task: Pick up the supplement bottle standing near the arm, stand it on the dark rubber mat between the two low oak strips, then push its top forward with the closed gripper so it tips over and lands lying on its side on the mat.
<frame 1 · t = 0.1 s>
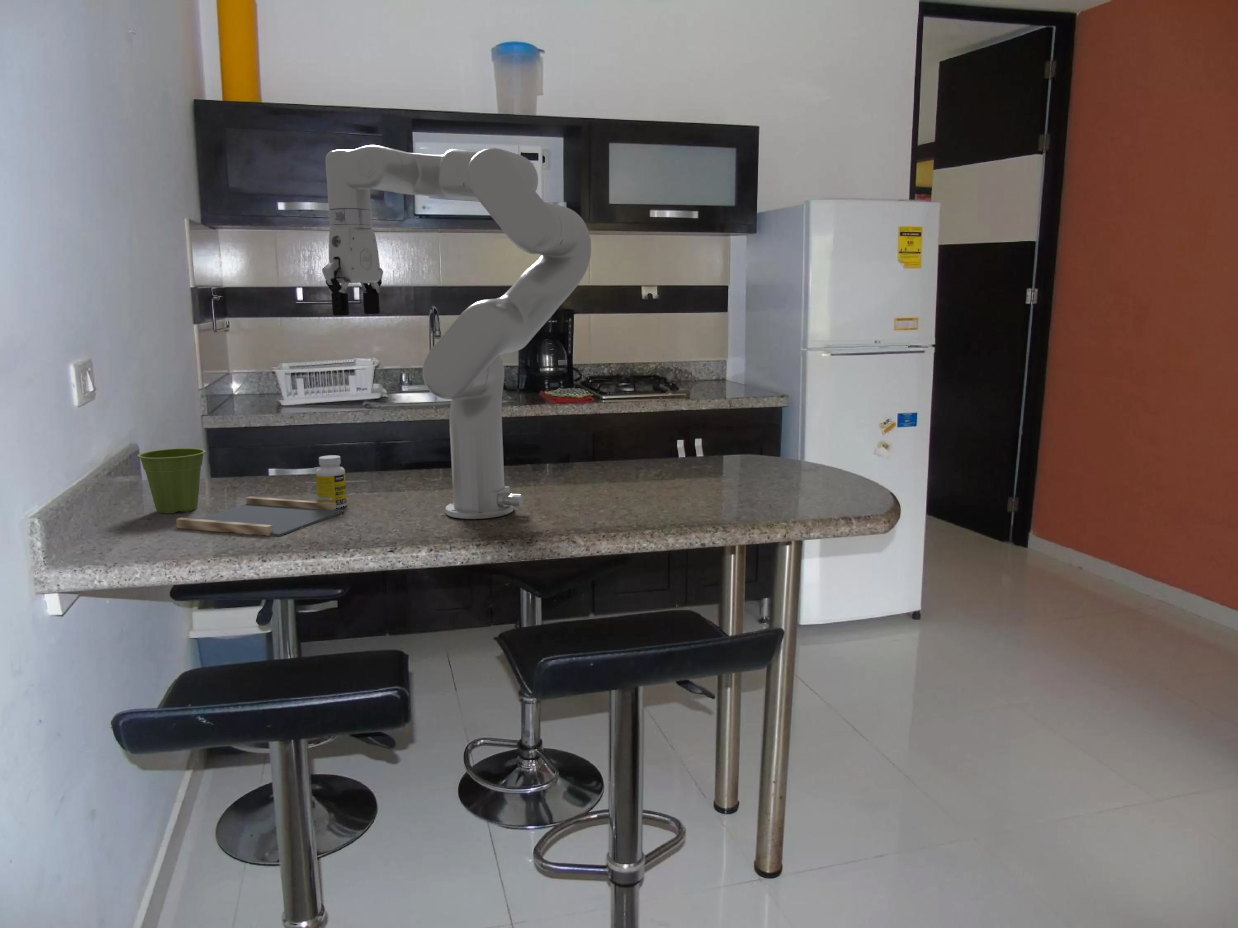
hand: (356, 314, 173), 37 cm above the table, tool pointing down, fingers open, 9 cm apart
supplement bottle: (333, 507, 179), on the table
strip right: (290, 508, 178), on the table
plant pot: (178, 510, 178), on the table
mat: (263, 519, 169), on the table
strip left: (224, 530, 161), on the table
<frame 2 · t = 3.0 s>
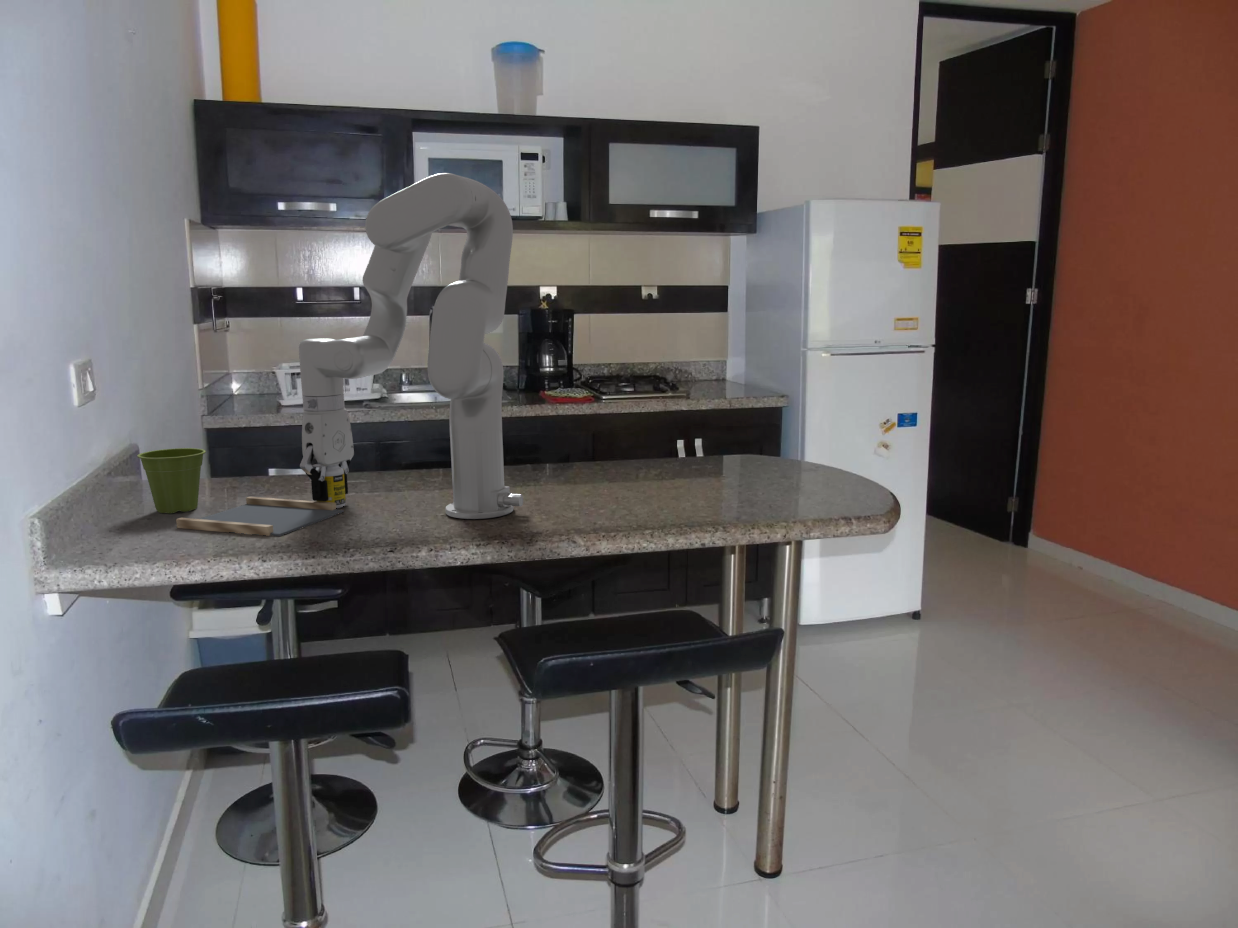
hand: (330, 496, 178), 2 cm above the table, tool pointing down, fingers closed on supplement bottle, 5 cm apart
supplement bottle: (331, 507, 178), on the table, touching gripper, strip right
everything else where it was.
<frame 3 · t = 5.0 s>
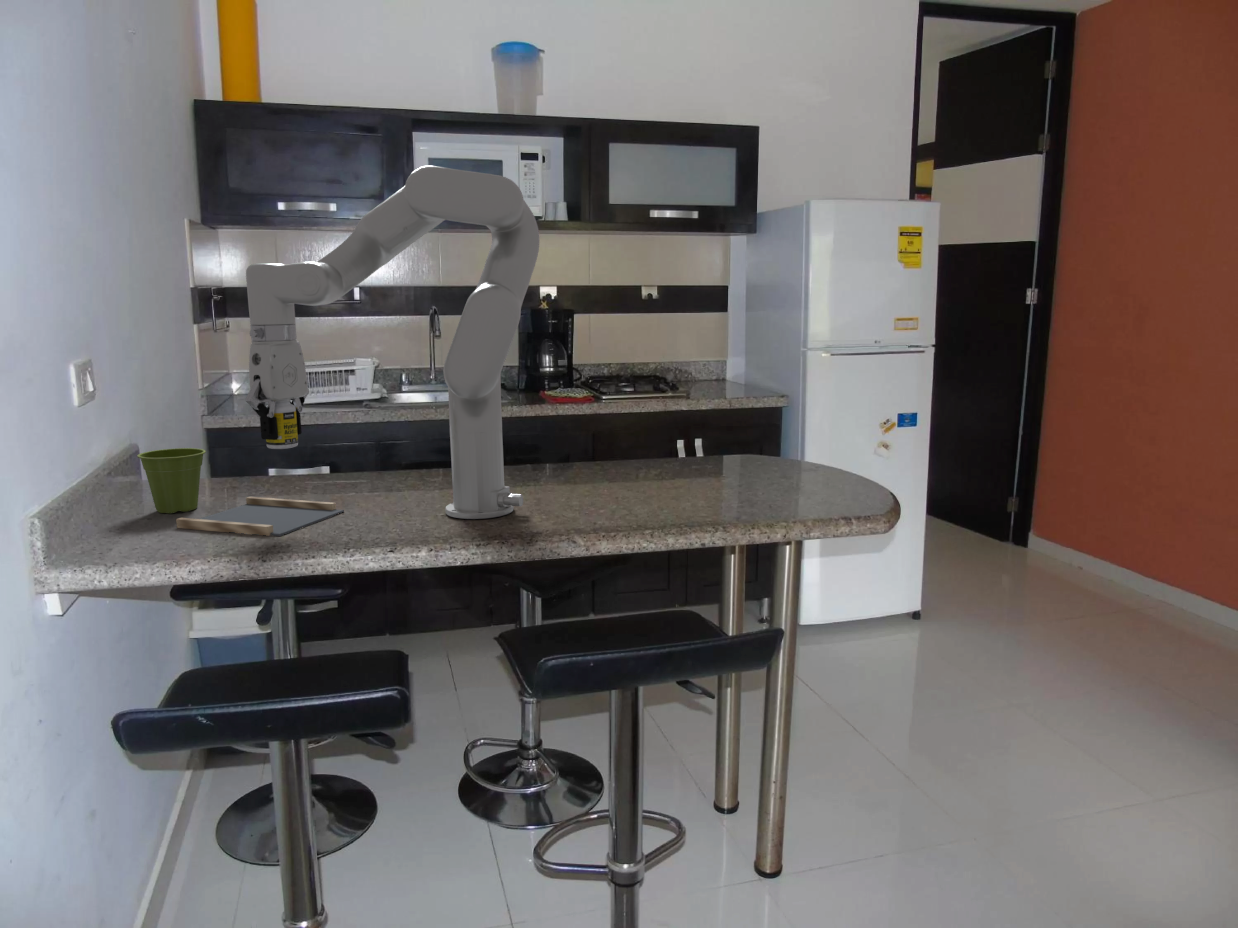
hand: (281, 435, 165), 16 cm above the table, tool pointing down, fingers closed on supplement bottle, 5 cm apart
supplement bottle: (283, 448, 166), point 13 cm above the table, touching gripper
everything else where it was.
when the fingers open (3 cm above the table, at t = 6.9 s): supplement bottle stays where it is, resting on mat.
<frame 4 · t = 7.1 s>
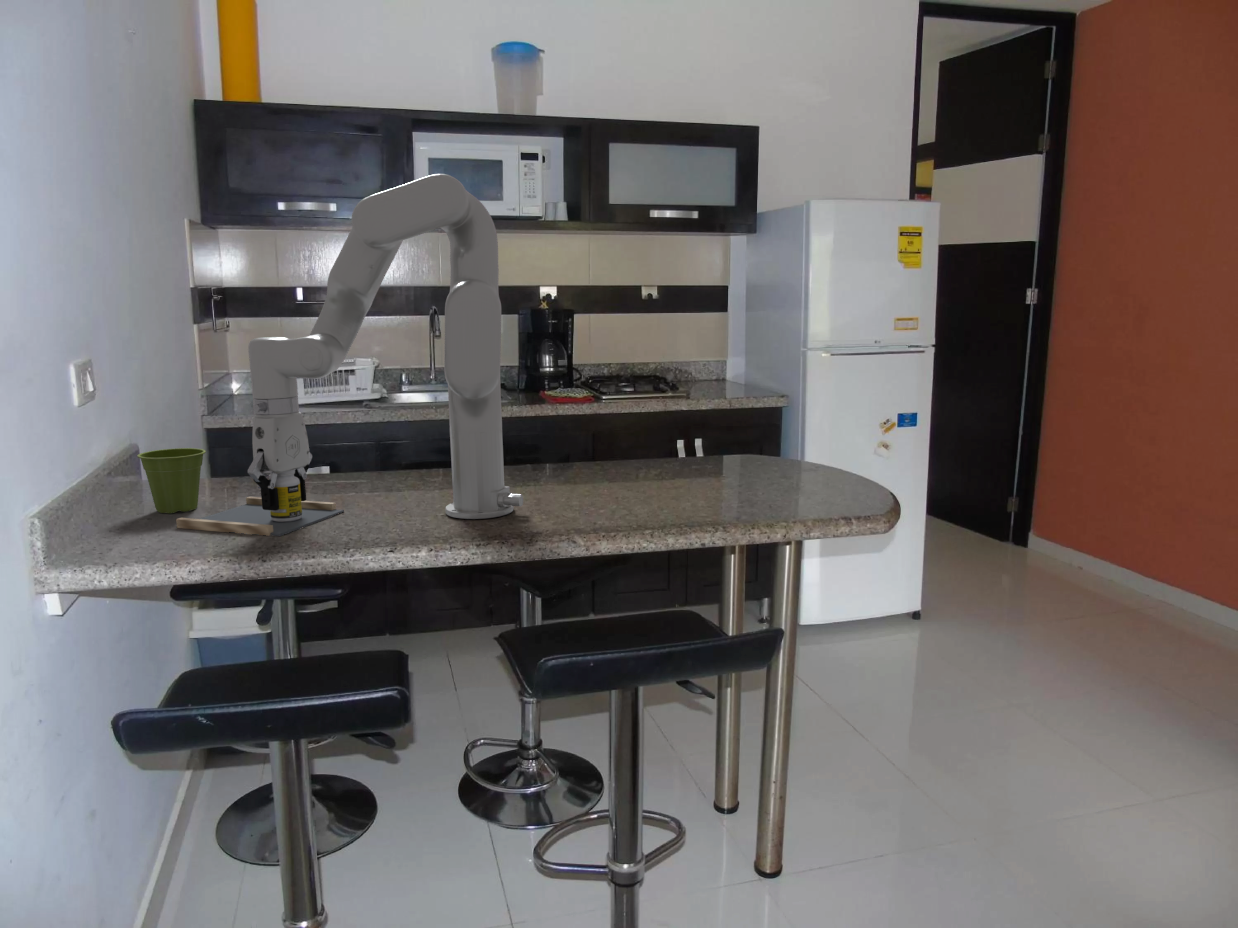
hand: (284, 504, 167), 3 cm above the table, tool pointing down, fingers open, 6 cm apart
supplement bottle: (287, 520, 168), resting on mat
everything else where it was.
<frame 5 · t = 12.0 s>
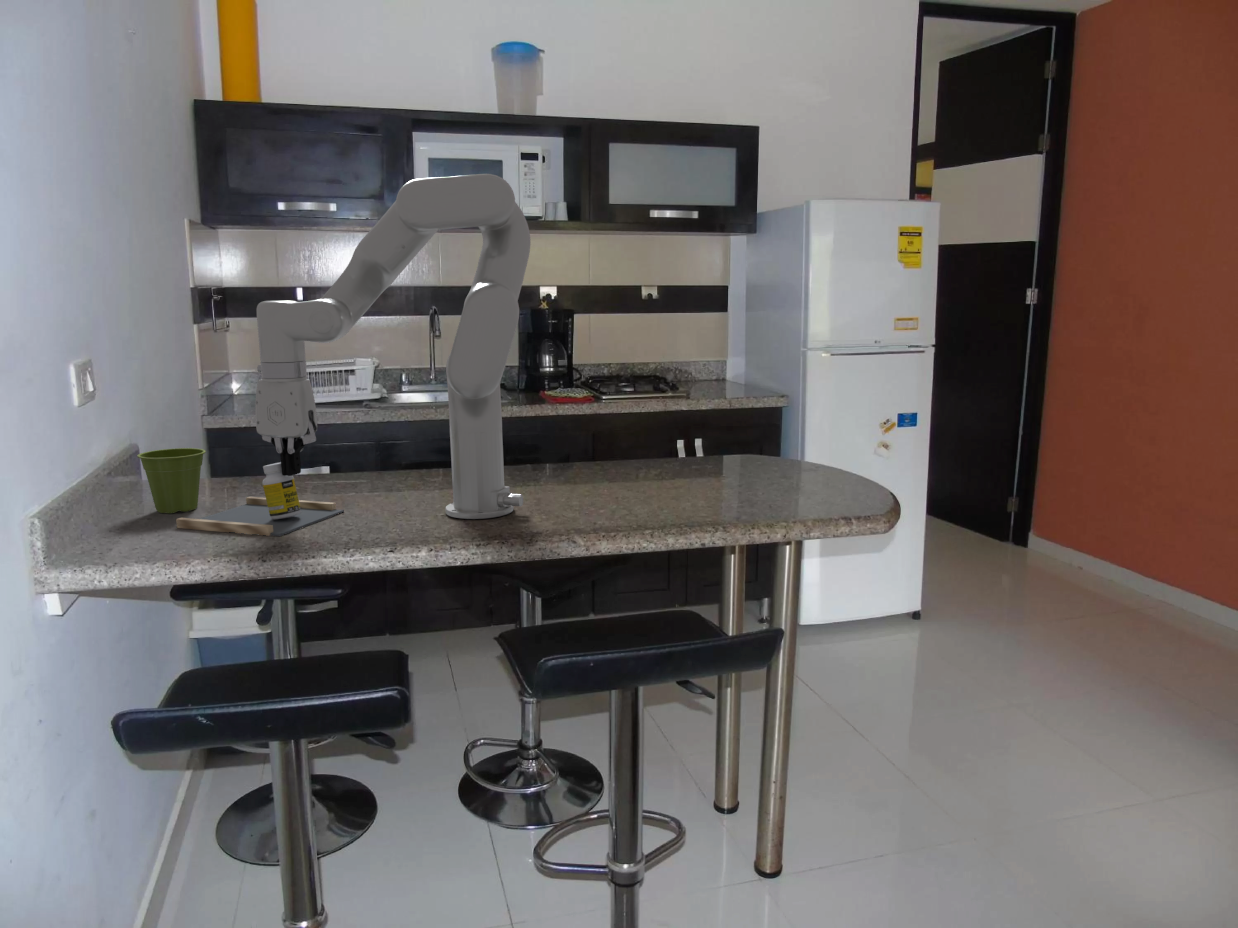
hand: (291, 474, 165), 9 cm above the table, tool pointing down, fingers closed
supplement bottle: (286, 517, 167), point 1 cm above the table, touching gripper, mat
everything else where it was.
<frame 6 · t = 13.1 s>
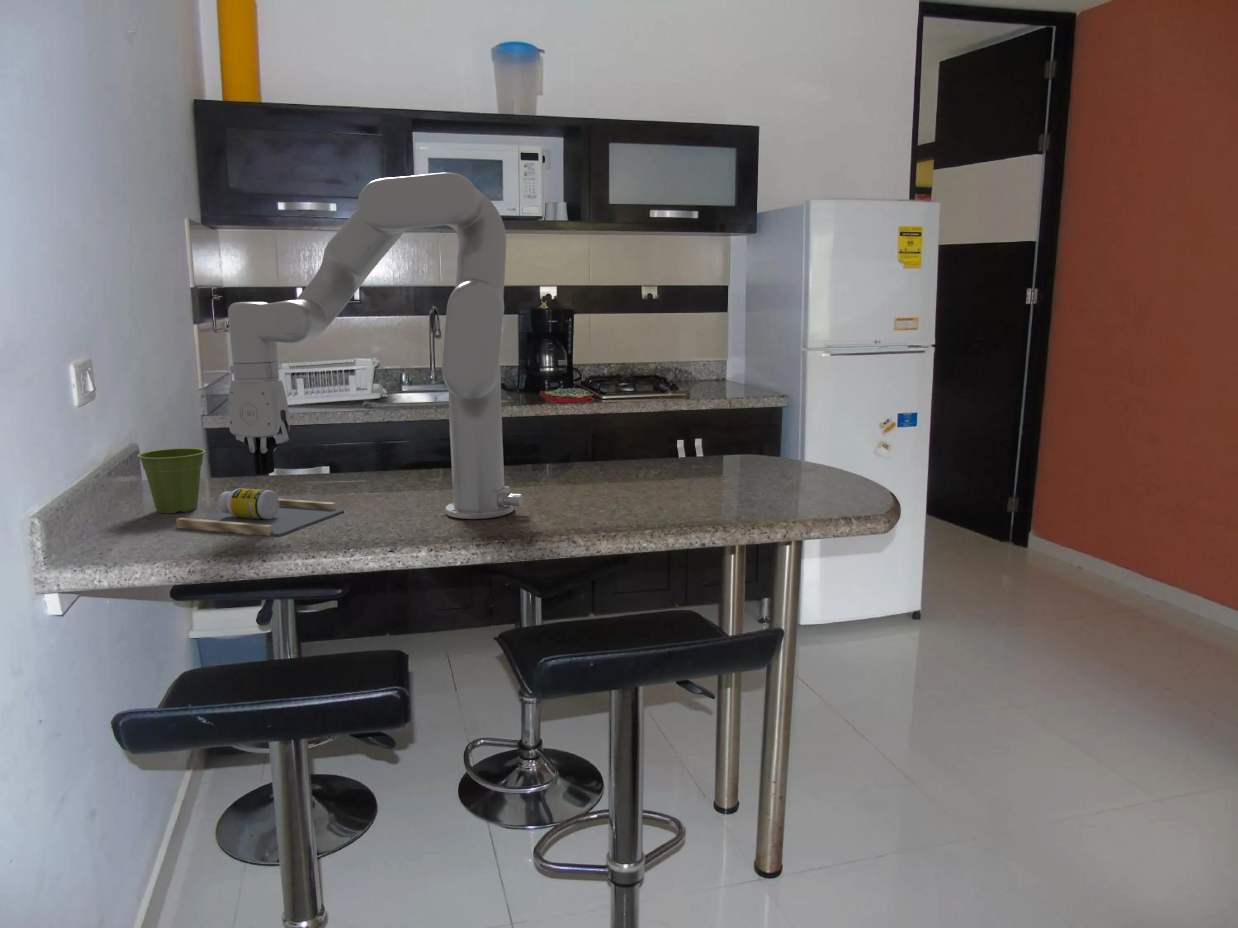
hand: (265, 473, 167), 9 cm above the table, tool pointing down, fingers closed
supplement bottle: (271, 504, 167), point 3 cm above the table, touching mat
everything else where it was.
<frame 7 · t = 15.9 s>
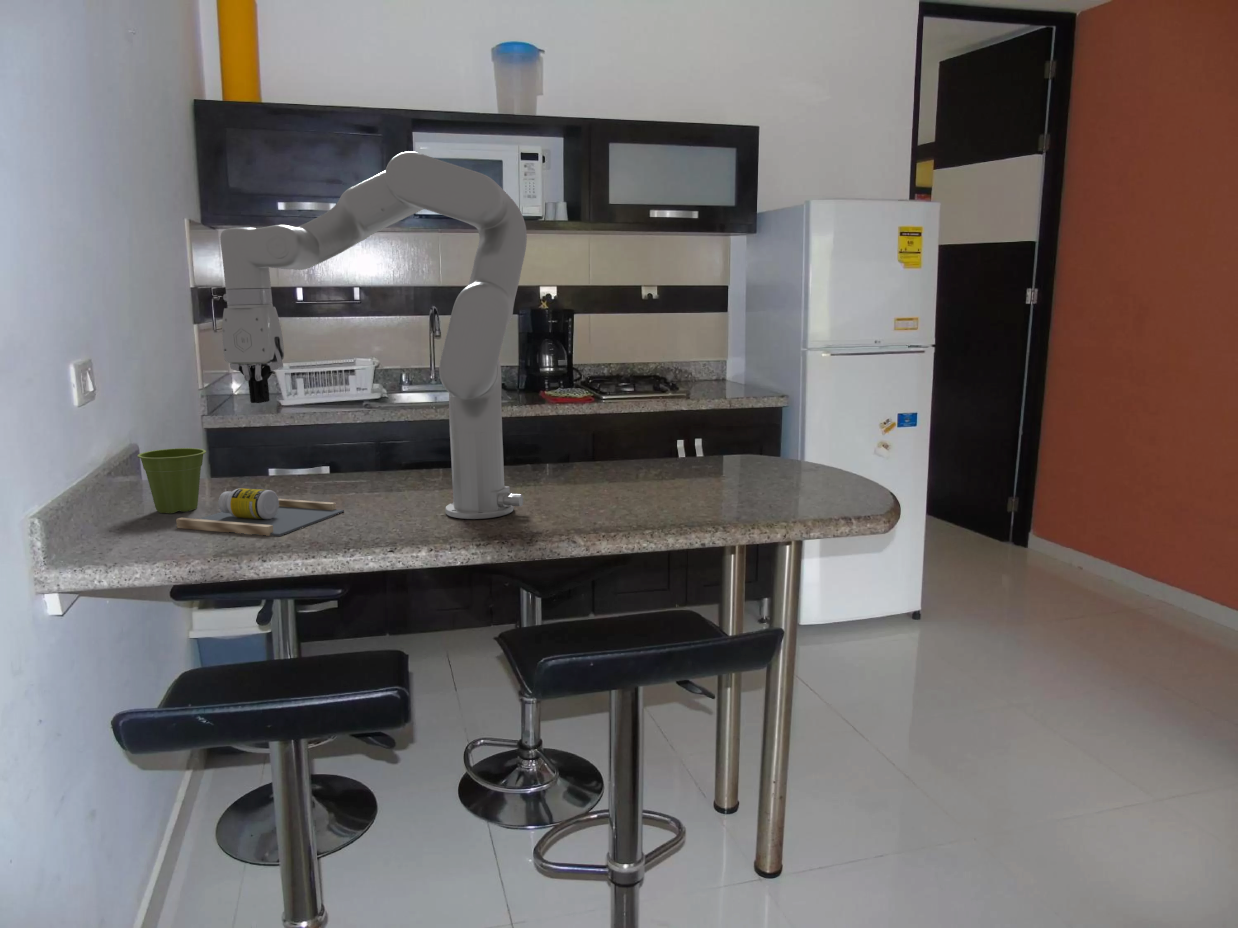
hand: (260, 402, 167), 21 cm above the table, tool pointing down, fingers closed
nothing on the table moved.
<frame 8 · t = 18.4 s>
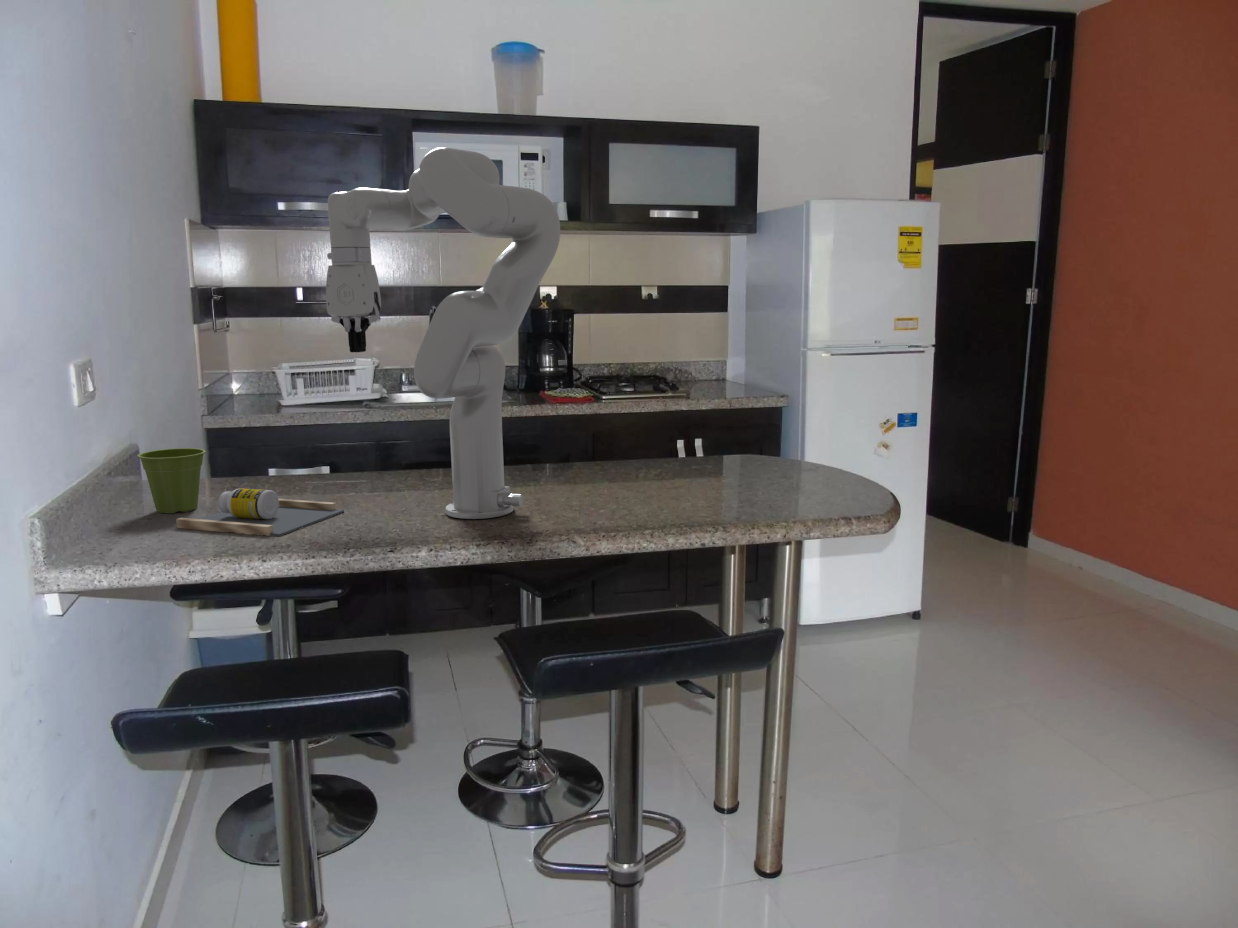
hand: (358, 351, 184), 29 cm above the table, tool pointing down, fingers closed
nothing on the table moved.
at the end: supplement bottle tilted 91°; supplement bottle inside the target area (7.2 cm from its centre), point 3.1 cm above the table; the gripper is holding nothing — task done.
